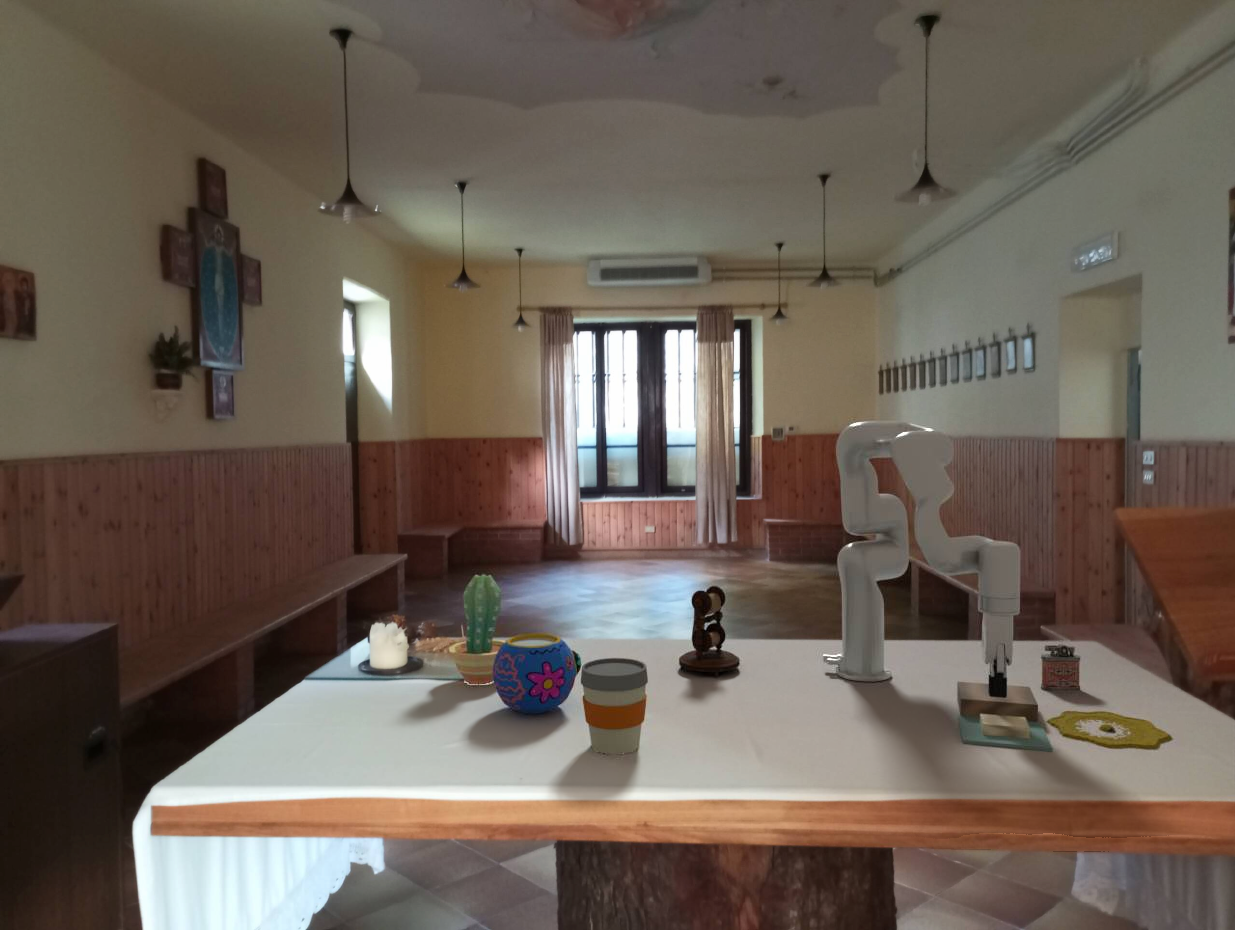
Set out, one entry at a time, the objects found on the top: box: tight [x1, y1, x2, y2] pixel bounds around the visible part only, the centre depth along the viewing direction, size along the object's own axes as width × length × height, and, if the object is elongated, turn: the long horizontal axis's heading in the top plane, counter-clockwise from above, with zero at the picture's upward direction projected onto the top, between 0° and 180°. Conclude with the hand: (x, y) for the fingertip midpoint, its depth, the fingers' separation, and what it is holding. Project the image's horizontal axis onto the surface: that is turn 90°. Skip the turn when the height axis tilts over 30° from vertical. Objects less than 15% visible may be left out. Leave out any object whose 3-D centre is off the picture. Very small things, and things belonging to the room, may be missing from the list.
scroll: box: [678, 585, 741, 678], centre depth 209 cm, size 15×15×20 cm
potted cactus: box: [448, 573, 507, 685], centre depth 203 cm, size 15×15×25 cm
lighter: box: [1040, 643, 1081, 693], centre depth 189 cm, size 8×3×10 cm, turn 84°
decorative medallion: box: [1046, 710, 1173, 750], centre depth 164 cm, size 20×20×1 cm
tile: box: [980, 714, 1030, 739], centre depth 163 cm, size 8×6×2 cm
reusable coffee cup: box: [580, 657, 649, 755], centre depth 160 cm, size 13×12×15 cm
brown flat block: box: [956, 681, 1039, 722], centre depth 175 cm, size 14×12×4 cm
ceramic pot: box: [493, 633, 582, 714], centre depth 181 cm, size 18×18×15 cm
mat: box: [957, 714, 1053, 752], centre depth 163 cm, size 15×14×1 cm
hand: (997, 695), depth 169 cm, fingers closed
